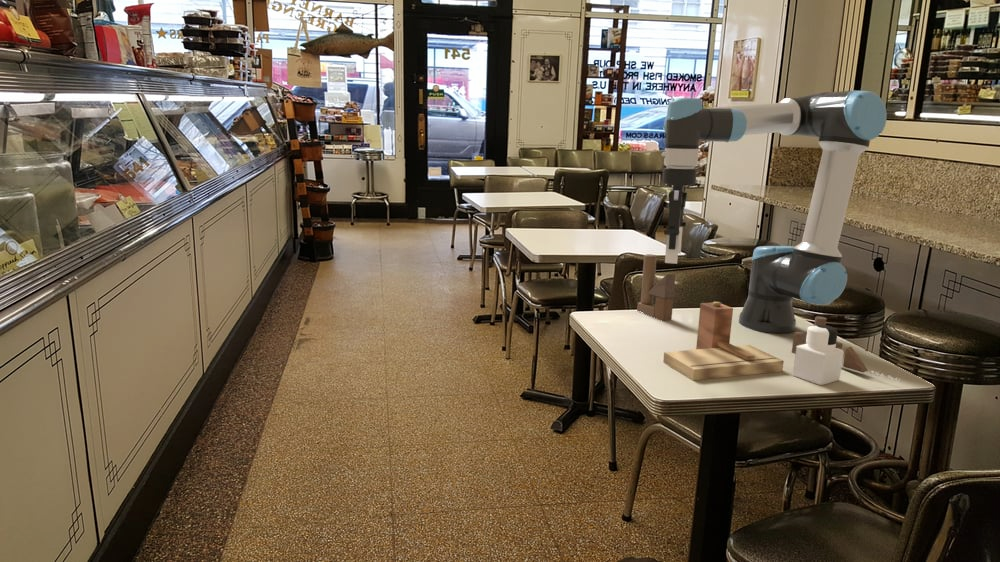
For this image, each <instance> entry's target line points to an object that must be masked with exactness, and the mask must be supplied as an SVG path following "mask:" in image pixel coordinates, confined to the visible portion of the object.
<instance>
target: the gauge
mask: <svg viewBox="0 0 1000 562" xmlns="http://www.w3.org/2000/svg"><path fill="white" fill-rule="evenodd" d="M699 307H700V308H699V317H698V327H697V335H696V337H697V338H696V347H695V350H697V349H708V348H720V347H721V348H723V349H725V350H727V351H729V352H731V353H733V354H735V355H737V356H739V357H741V358H743V359H745V360H754V358H755V355H753V354H751V353H749V352H747V351H744V350H742V349H740V348H738V347H736V346H737V345H734V344H732V343H730V341H731V340H730V339H731V332H732V322H733V312H734V307H731V306H728V305H726V304H723V303H722V302H720V301H713V302H702V303H701V302H700V306H699Z"/></svg>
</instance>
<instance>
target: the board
mask: <svg viewBox="0 0 1000 562" xmlns="http://www.w3.org/2000/svg"><path fill="white" fill-rule="evenodd" d="M735 346H736V347H738V348H740V349H742V350H744V351H747V352H749V353H751V354H753V355H755V358H754V360H745V359H743V358H741V357H739V356H737V355H735V354H733V353H731V352H729V351H727V350H725V349H723V348H721V347H720V348H708V349H697V350H696V349H688V350H678V351H677V350H674V351H666V352H663V361H662V362H663V363H664V364H665V365H667V366H668V367H670V368H671V369H674V370H675V371H676V372H679V373H680V374H681V375H683V376H685V377H687V378H689V379H690V380H692V381H699V380H700V381H702V380H710V379H720V378H731V377H739V376H749V375H758V374H768V373H778V372H783V369H784V364H785V363H784V360H783V359H780V358H778V357H777V356H774V355H772V354H770V353H767V352H766V351H763V350H762V349H758V348H757V347H755V346H752V345H750V344H745V345H735Z"/></svg>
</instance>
